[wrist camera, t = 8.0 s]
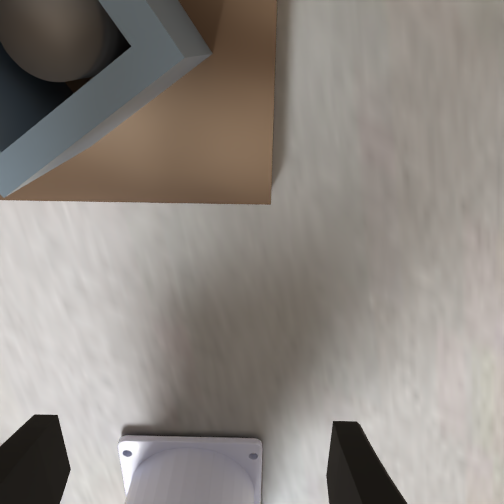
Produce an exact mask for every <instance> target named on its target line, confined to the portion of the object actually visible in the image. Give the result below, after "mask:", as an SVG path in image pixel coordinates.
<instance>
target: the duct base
mask: <svg viewBox="0 0 504 504" xmlns="http://www.w3.org/2000/svg"><path fill="white" fill-rule="evenodd" d="M178 1H179V2H180V4H181V5H182V7H183V9H184V10H185V12H186V13H187V15H188V16H189V18H190V19H191V21H192V22H193V24H194V26H195V27H196V29H197V30H198V32H199V33H200V35H201V36H202V38H203V39H204V41H205V42H206V44H207V46H208V47H209V49H210V50H211V52H212V53H213V54H212V55H210V56H209V57H208V58H206V59H205V60H204V61H202V62H201V63H200V64H198V65H197V66H196V67H195V68H193V69H192V70H191V71H189V72H188V73H187V74H185V75H184V76H183V77H181V78H180V79H179V80H177V81H176V82H175V83H174V84H172V85H171V86H170V87H168V88H167V89H166V90H164V91H163V92H162V93H160V94H159V95H158V96H157V97H155V98H154V99H153V100H151V101H150V102H149V103H147V104H146V105H145V106H143V107H142V108H141V109H139V110H138V111H137V112H136V113H134V114H133V115H132V116H130V117H129V118H128V119H126V120H125V121H124V122H122V123H121V124H120V125H118V126H117V127H116V128H115V129H113V130H112V131H111V132H109V133H108V134H107V135H105V136H104V137H103V138H101V139H100V140H99V141H97V142H96V143H95V144H94V145H92V146H91V147H89V148H88V149H86V150H84V151H83V152H81V153H79V154H77V155H76V156H74V157H72V158H71V159H69V160H67V161H66V162H64V163H62V164H61V165H59V166H57V167H55V168H54V169H52V170H50V171H49V172H47V173H45V174H44V175H42V176H40V177H39V178H37V179H35V180H33V181H32V182H30V183H28V184H27V185H25V186H23V187H22V188H20V189H18V190H17V191H15V192H13V193H11V194H10V195H8V196H6V197H5V198H3V197H2V196H1V195H0V200H30V201H89V202H149V203H208V204H267V205H271V180H272V148H273V117H274V85H275V54H276V22H277V0H178ZM0 41H1V43H2V45H3V47H4V49H5V50H6V52H7V53H8V54H9V56H10V57H11V58H12V59H13V60H14V61H15V62H16V63H17V65H19V66H20V67H21V68H22V69H23V70H25V71H26V72H28V73H29V74H31V75H33V76H35V77H37V78H40V79H42V80H46V81H50V82H65V83H66V84H67V86H68V87H69V88H70V89H71V91H72V92H73V93H75V92H76V91H78V90H79V89H80V88H81V87H82V86H84V85H85V84H86V83H87V82H89V81H90V80H91V79H92V78H93V77H95V76H96V75H97V74H98V73H100V72H101V71H102V70H103V69H105V68H106V67H107V66H108V65H109V64H111V63H112V62H113V61H114V60H116V59H117V58H118V57H119V56H120V55H122V54H123V53H124V52H125V51H127V50H128V49H129V48H130V47H131V45H130V44H129V43H128V41H127V40H126V38H125V37H124V36H123V34H122V33H121V31H120V30H119V29H118V27H117V26H116V24H115V23H114V22H113V20H112V19H111V17H110V16H109V15H108V13H107V12H106V10H105V9H104V8H103V6H102V5H101V3H100V2H99V1H98V0H0Z"/></svg>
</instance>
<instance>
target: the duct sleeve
mask: <svg viewBox="0 0 504 504" xmlns="http://www.w3.org/2000/svg"><path fill="white" fill-rule="evenodd" d="M98 1H99V2H100V3H101V5H102V6H103V8H104V9H105V10H106V12H107V13H108V15H109V16H110V17H111V19H112V20H113V22H114V23H115V24H116V26H117V27H118V29H119V30H120V31H121V33H122V34H123V36H124V37H125V38H126V40H127V41H128V43H129V44H130V45H131V47H130V48H129V49H128V50H127V51H125V52H124V53H123V54H122V55H120V56H119V57H118V58H117V59H116V60H114V61H113V62H112V63H111V64H109V65H108V66H107V67H106V68H105V69H103V70H102V71H101V72H100V73H98V74H97V75H96V76H95V77H93V78H92V79H91V80H90V81H89V82H87V83H86V84H85V85H84V86H82V87H81V88H80V89H79V90H78V91H76V92H75V93H73V92H72V91H71V89H70V88H69V87H68V86H67V84H66V83H65V82H50V81H46V80H42V79H40V78H37V77H35V76H33V75H31V74H29V73H28V72H26V71H25V70H23V69H22V68H21V67H20V66H19V65H17V63H16V62H15V61H14V60H13V59H12V58H11V57H10V56H9V54H8V53H7V52H6V50H5V49H4V47H3V45H2V43H1V41H0V195H1V196H2V197H3V198H5V197H6V196H8V195H10V194H11V193H13V192H15V191H17V190H18V189H20V188H22V187H23V186H25V185H27V184H28V183H30V182H32V181H33V180H35V179H37V178H39V177H40V176H42V175H44V174H45V173H47V172H49V171H50V170H52V169H54V168H55V167H57V166H59V165H61V164H62V163H64V162H66V161H67V160H69V159H71V158H72V157H74V156H76V155H77V154H79V153H81V152H83V151H84V150H86V149H88V148H89V147H91V146H92V145H94V144H95V143H96V142H97V141H99V140H100V139H101V138H103V137H104V136H105V135H107V134H108V133H109V132H111V131H112V130H113V129H115V128H116V127H117V126H118V125H120V124H121V123H122V122H124V121H125V120H126V119H128V118H129V117H130V116H132V115H133V114H134V113H136V112H137V111H138V110H139V109H141V108H142V107H143V106H145V105H146V104H147V103H149V102H150V101H151V100H153V99H154V98H155V97H157V96H158V95H159V94H160V93H162V92H163V91H164V90H166V89H167V88H168V87H170V86H171V85H172V84H174V83H175V82H176V81H177V80H179V79H180V78H181V77H183V76H184V75H185V74H187V73H188V72H189V71H191V70H192V69H193V68H195V67H196V66H197V65H198V64H200V63H201V62H202V61H204V60H205V59H206V58H208V57H209V56H210V55H212V54H213V53H212V52H211V50H210V49H209V47H208V46H207V44H206V42H205V41H204V39H203V38H202V36H201V35H200V33H199V32H198V30H197V29H196V27H195V26H194V24H193V22H192V21H191V19H190V18H189V16H188V15H187V13H186V12H185V10H184V9H183V7H182V5H181V4H180V2H179V1H178V0H98Z"/></svg>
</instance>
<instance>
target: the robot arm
mask: <svg viewBox="0 0 504 504" xmlns="http://www.w3.org/2000/svg"><path fill="white" fill-rule="evenodd" d="M128 450H129V451H128ZM118 452H119V458H120V464H121V470H122V476H123V482H124V488H125V493H126V500H125V504H261V479H262V442H261V441H260V440H258V439H256V438H224V437H180V436H136V435H126V436H122V437H121V438H120V439H119V442H118ZM252 453H255V454H252ZM70 470H71V469H70V464H69V460H68V456H67V452H66V448H65V444H64V440H63V435H62V431H61V427H60V423H59V419H58V415H34V416H32V417H31V418H30V419H29V420H28V421H27V422H26V423H25V424H24V425H23V426H22V427H20V428H19V429H18V430H17V431H16V432H15V433H14V434H13V435H12V436H11V437H10V438H9V439H8V440H7V441H6V442H4V443H3V444H2V445H1V446H0V504H60V501H61V498H62V495H63V492H64V489H65V486H66V483H67V479H68V476H69V473H70ZM326 476H327V486H328V495H329V504H407V502H406V501H405V499H404V498H403V496H402V495H401V493H400V492H399V490H398V489H397V487H396V486H395V484H394V483H393V481H392V480H391V478H390V476H389V475H388V473H387V472H386V470H385V468H384V467H383V465H382V463H381V462H380V460H379V458H378V457H377V455H376V453H375V451H374V450H373V448H372V446H371V444H370V442H369V441H368V439H367V437H366V435H365V433H364V431H363V429H362V427H361V425H360V424H359V423H358V422H350V421H333V427H332V435H331V443H330V451H329V459H328V467H327V475H326Z"/></svg>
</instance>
